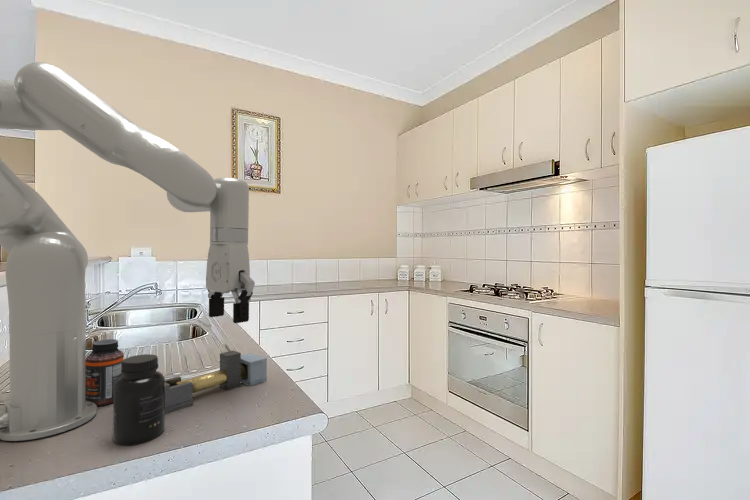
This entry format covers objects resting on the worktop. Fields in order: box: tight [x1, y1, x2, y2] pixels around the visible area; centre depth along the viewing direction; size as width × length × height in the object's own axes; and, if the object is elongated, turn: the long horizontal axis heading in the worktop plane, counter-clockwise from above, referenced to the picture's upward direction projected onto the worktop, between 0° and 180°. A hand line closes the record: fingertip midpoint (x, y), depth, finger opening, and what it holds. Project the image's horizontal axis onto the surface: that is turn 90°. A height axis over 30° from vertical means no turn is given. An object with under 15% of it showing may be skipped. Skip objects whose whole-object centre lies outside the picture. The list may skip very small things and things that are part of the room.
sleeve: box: [165, 375, 194, 414], centre depth 67 cm, size 10×6×5 cm, turn 141°
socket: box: [241, 352, 268, 387], centre depth 82 cm, size 4×6×5 cm, turn 51°
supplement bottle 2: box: [112, 353, 166, 446], centre depth 58 cm, size 7×7×12 cm
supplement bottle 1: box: [86, 338, 125, 407], centre depth 71 cm, size 6×6×11 cm
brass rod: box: [174, 350, 248, 394], centre depth 76 cm, size 16×3×7 cm, turn 141°
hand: (228, 319), depth 78 cm, fingers open, 9 cm apart
